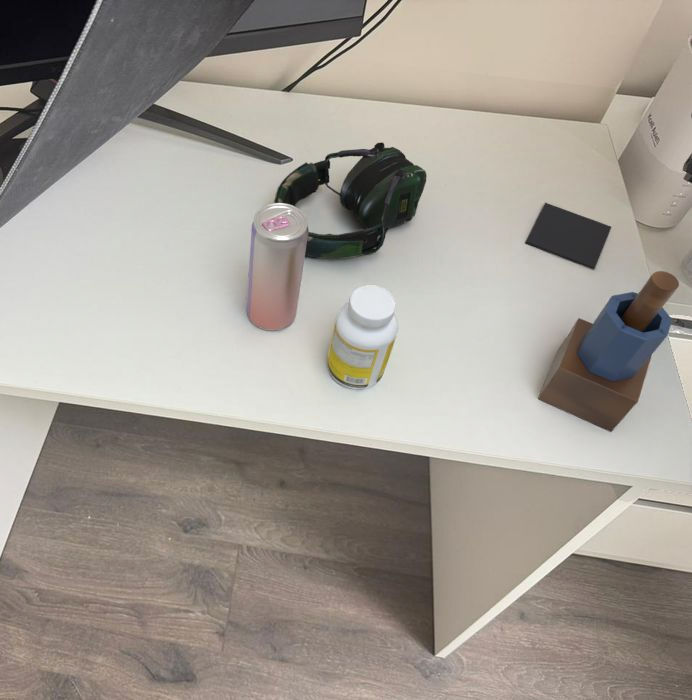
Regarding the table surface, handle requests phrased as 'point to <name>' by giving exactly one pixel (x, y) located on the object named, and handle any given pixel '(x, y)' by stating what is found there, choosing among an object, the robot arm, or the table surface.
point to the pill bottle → (363, 337)
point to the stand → (592, 390)
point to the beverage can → (276, 265)
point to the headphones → (360, 198)
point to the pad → (569, 235)
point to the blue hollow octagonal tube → (620, 341)
